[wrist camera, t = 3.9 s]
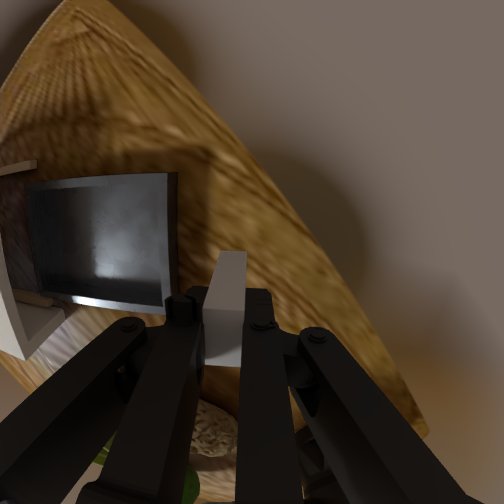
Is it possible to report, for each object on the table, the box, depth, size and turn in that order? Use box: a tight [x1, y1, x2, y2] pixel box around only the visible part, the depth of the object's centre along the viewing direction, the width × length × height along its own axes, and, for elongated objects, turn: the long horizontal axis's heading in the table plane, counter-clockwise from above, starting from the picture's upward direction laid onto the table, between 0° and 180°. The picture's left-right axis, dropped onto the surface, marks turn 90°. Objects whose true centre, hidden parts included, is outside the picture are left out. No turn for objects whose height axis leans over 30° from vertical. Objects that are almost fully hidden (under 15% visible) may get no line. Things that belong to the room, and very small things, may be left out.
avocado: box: [181, 465, 200, 504], centre depth 30 cm, size 8×8×12 cm
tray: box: [25, 172, 180, 315], centre depth 22 cm, size 16×12×3 cm
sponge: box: [118, 368, 238, 457], centre depth 27 cm, size 13×8×20 cm
